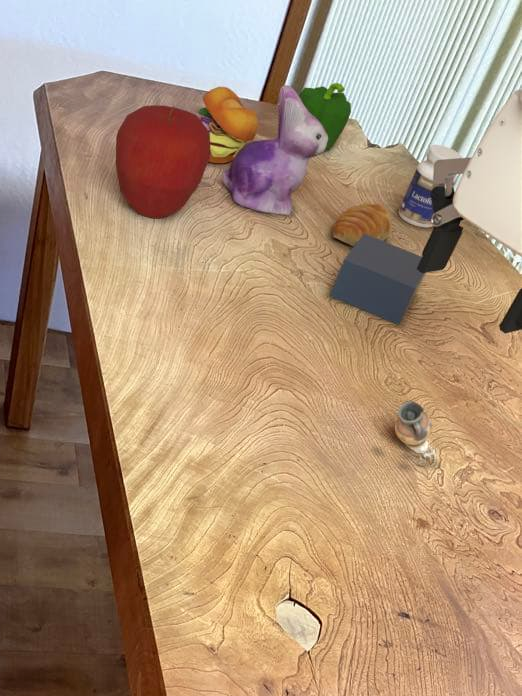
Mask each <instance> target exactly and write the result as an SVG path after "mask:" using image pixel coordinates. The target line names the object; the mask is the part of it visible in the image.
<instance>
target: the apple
mask: <svg viewBox="0 0 522 696" xmlns="http://www.w3.org/2000/svg"><path fill="white" fill-rule="evenodd" d="M210 151H211V150H210V132H209V131H208V130H207V128H206V127H205V125H204V124H203V123H202V121H201V120H200V119H199V118H198V116H197V115H195V114H193V113H192V112H190V111H188V110H184V109H182V108H178V107H176V106H175V105H173V106H169V105H159V104H158V105H157V104H156V105H155V104H154V105H153V104H151V105H143V106H142V107H139V108H137V109H136V110H133V111H132V112H130V113H128V114H127V115H126V117H125V118H124V119H123V121H122V123H121V125H120V127H119V128H118V130H117V133H116V137H115V168H116V175H117V181H118V189H119V191H120V193H121V194H122V196H123V197H124V198H125V200H126V201H127V203H128V204H129V205H130V206H131V207H130V208H132V210H134V211H135V212H136V213H137V214H139V215H142V216H144V217H147V218H152V219H165V218H167V217H168V216H171V215H173V214H174V213H176V212H179V211H181V209H183V208H184V207H185V206H186V205H187V203H188V202H189V200H190V198H191V197H192V195H193V194H194V192H195V191H196V189H197V188H198V187H199V185H200V184H201V182H202V179H203V176H204V174H205V170H206V168H207V166H208V163H209V162H208V161H209V158H210Z"/></svg>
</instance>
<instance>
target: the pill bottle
mask: <svg viewBox="0 0 522 696" xmlns="http://www.w3.org/2000/svg"><path fill="white" fill-rule="evenodd" d="M425 155H426V156H425V157H426V160H423V161H421V162H420V163H419V164H418V165H417V167H416V168H415V172H414V173H413V176H412V178H411V181H410V183H409V184H408V187H407V189H406V192H405V195H404V196H403V199H402V201H401V203H400V206H399V208H398V216H399V217H400V218H401V219H402V220H403V222H404V221H405V222H406V223H408V224H410V225H412V226H415V227H418V228H423V229H424V228H425V229H426V228H427V229H428V228H432V227H434V226H433V224H432V222H431V218H432V215H433V214H434V211H433V205H432V200H431V191H432V189H433V188H434V185H433V173H434V164H435V162H436V161H437V160H443V159H456V158H463V157H462V155H461V154H460V153H459V152H457V151H456V150H455V149H453V148H450V147H447V146H444V145H440V144H433V145H431V146H429V148H428V150H427V152H426V154H425ZM457 177H458V174H457V175H456V176H455V177H454V183H452V187H453V188H454V186H455V184H456V181H457V179H458V178H457Z"/></svg>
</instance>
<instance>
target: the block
mask: <svg viewBox="0 0 522 696" xmlns="http://www.w3.org/2000/svg"><path fill="white" fill-rule="evenodd" d="M421 258H422V255H420V254H417V253H414V252H412V251H409V250H407V249H404V248H401V247H399V246H397V245H394V244H391V243H389V242H387V241H385V240H384V241H382V240H379V239H377V238H374V237H372V236H369V235H367V234H363V236H362V237H361V238H360V240H359V241H358V242H357V243H356V245H355V246H352V248H351V250H350V251H349V252H348V253H347V255H346V256H345V258H343V261H342V264H341V266H340V269H339V271H338V274H337V276H336V279H335V281H334V284H333V286H332V288H331V291H330V293H329V297H330V298H333V299H336V300H338V301H341V302H343V303H346V304H348V305H350V306H352V307H355V308H357V309H360V310H362V311H365V312H367V313H369V314H371V315H374V316H376V317H378V318H381V319H383V320H386V321H389V322H391V323H393V324H396V325H400V323H401V322H402V320H403V318H404V316H405V315H406V313H407V312H408V309H409V308H410V306H411V305H412V303H413V301H414V299H415V298H416V295H417V294H418V291H419V289H420V287H421V285H422V283H423V281H424V279H425V276H426V274H427V273H421V272H420V271H418V270H417V267H418V264H419V262H420V260H421Z"/></svg>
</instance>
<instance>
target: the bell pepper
mask: <svg viewBox="0 0 522 696" xmlns="http://www.w3.org/2000/svg"><path fill="white" fill-rule="evenodd" d="M335 90H337V92H335ZM344 91H345V87H344V85H343V84H341V83H339V82H334V83H331V84H330V85H329V87H328V88H327V87H326V86H323V85H322V86H317V87H304V88H302V90H301V92H300V93H299V94H298V96H299V97H300V99H301V101H302V103H303V104H304V106H305V107H306V109H307V110H308V111H309V113H310V114H311V115H313V116H314V117H315V118H316V119H317V120H318V121H319V122H320V123H321V124H322V126H323V128H324V130H325V132H326V133H327V135H328V142H327V146H326V148H325V150H324V152H326V151H329V150H331V148H332V147H334V145H335V144H336V142H337V141H338V140H339V138H340V137H341V134H342V133H343V131H344V129H345V128H346V126H347V124H348V121H349V119H350V116H351V113H352V104H351V102H350V101H348V99H347V97H346V94H345V93H344Z"/></svg>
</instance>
